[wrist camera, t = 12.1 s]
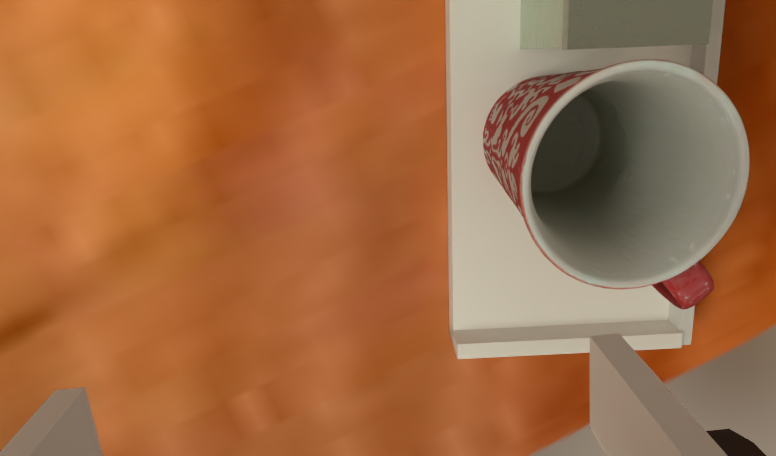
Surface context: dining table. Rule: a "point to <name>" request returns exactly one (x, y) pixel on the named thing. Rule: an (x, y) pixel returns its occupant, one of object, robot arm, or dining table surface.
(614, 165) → the mug
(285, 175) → the dining table surface
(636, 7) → the tea tin
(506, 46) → the shelf
